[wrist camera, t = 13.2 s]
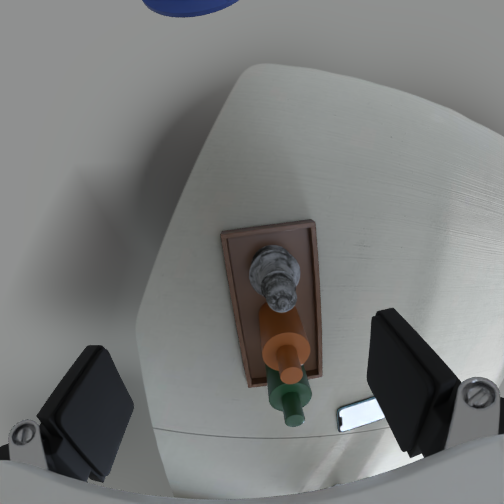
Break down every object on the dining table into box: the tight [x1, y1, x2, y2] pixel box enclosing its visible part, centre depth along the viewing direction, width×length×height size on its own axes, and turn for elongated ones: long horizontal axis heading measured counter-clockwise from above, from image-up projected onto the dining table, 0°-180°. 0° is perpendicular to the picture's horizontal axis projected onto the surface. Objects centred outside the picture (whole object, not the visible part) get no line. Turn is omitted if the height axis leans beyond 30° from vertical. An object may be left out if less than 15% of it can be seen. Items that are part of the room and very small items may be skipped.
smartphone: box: [337, 397, 385, 432], centre depth 44 cm, size 8×1×16 cm
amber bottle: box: [259, 302, 310, 384], centre depth 31 cm, size 5×5×13 cm
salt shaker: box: [249, 245, 300, 313], centre depth 30 cm, size 6×6×12 cm
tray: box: [221, 219, 322, 388], centre depth 37 cm, size 23×11×2 cm, turn 8°
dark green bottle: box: [265, 363, 312, 427], centre depth 33 cm, size 5×5×13 cm
